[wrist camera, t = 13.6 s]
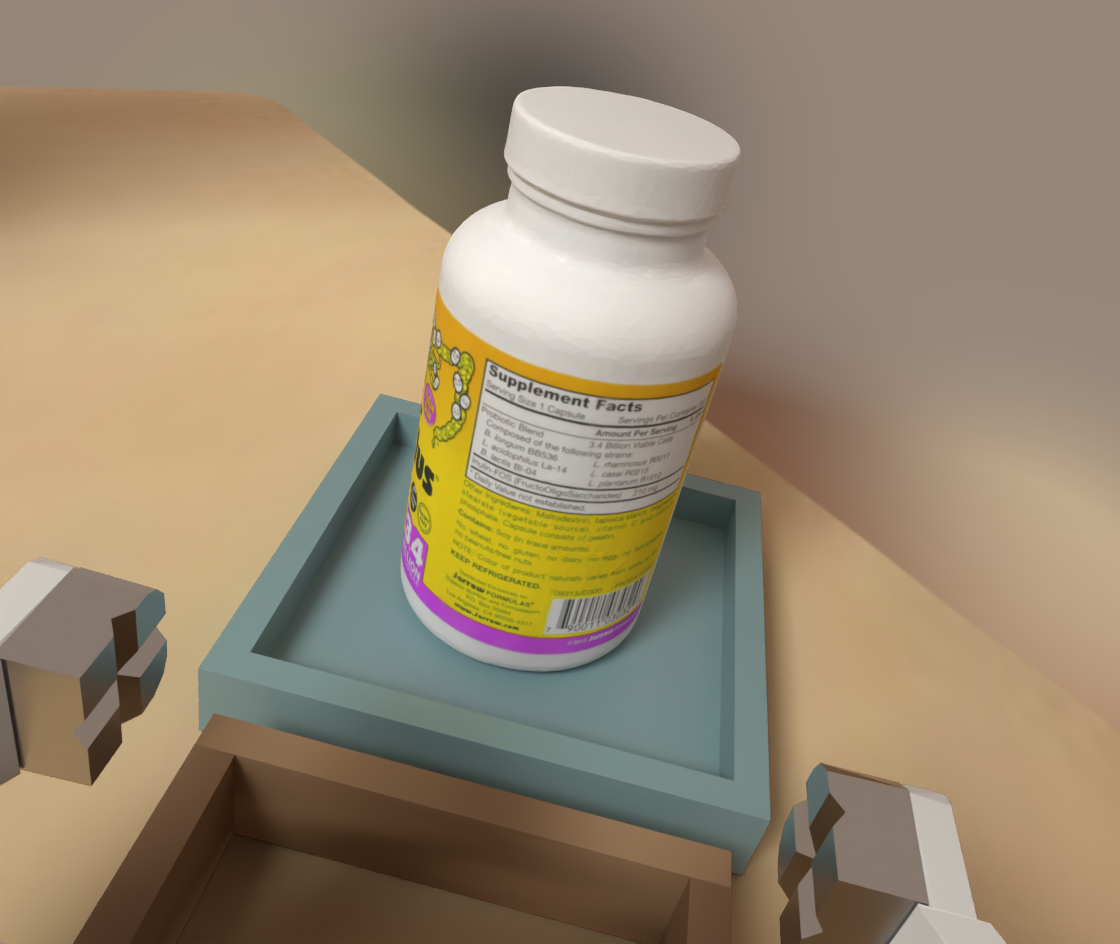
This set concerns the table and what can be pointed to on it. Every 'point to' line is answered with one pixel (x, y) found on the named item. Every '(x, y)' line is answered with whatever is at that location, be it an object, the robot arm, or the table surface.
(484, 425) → the supplement bottle
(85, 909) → the table surface
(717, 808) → the tray
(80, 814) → the table surface
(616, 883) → the brown wooden tray
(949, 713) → the table surface
